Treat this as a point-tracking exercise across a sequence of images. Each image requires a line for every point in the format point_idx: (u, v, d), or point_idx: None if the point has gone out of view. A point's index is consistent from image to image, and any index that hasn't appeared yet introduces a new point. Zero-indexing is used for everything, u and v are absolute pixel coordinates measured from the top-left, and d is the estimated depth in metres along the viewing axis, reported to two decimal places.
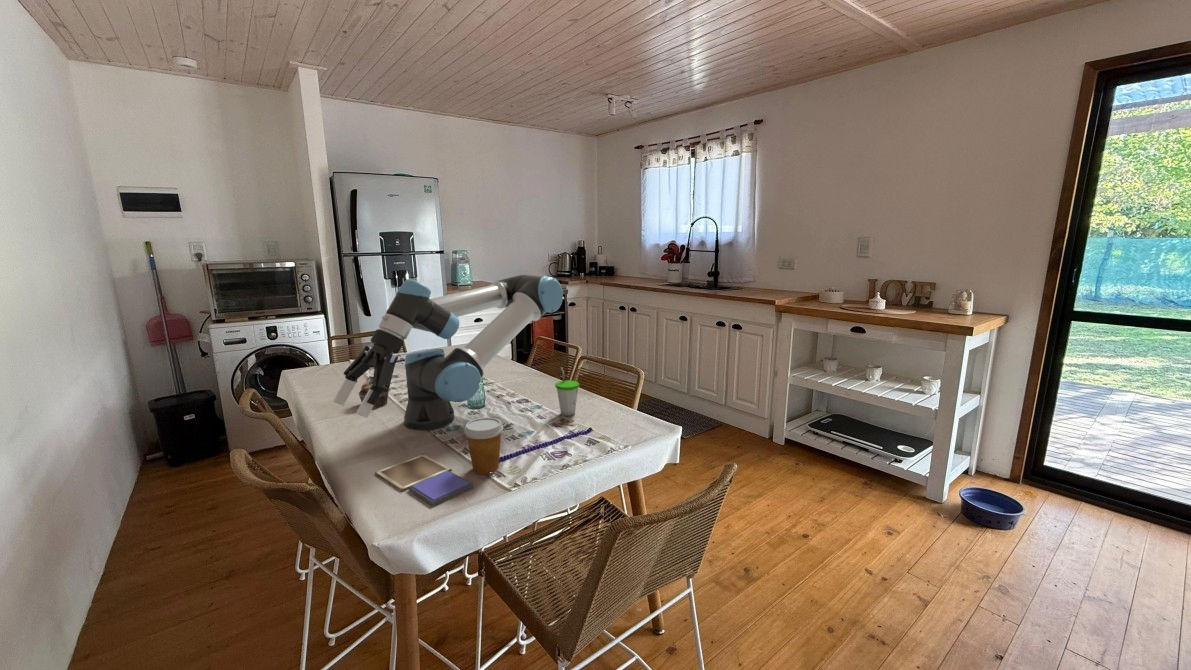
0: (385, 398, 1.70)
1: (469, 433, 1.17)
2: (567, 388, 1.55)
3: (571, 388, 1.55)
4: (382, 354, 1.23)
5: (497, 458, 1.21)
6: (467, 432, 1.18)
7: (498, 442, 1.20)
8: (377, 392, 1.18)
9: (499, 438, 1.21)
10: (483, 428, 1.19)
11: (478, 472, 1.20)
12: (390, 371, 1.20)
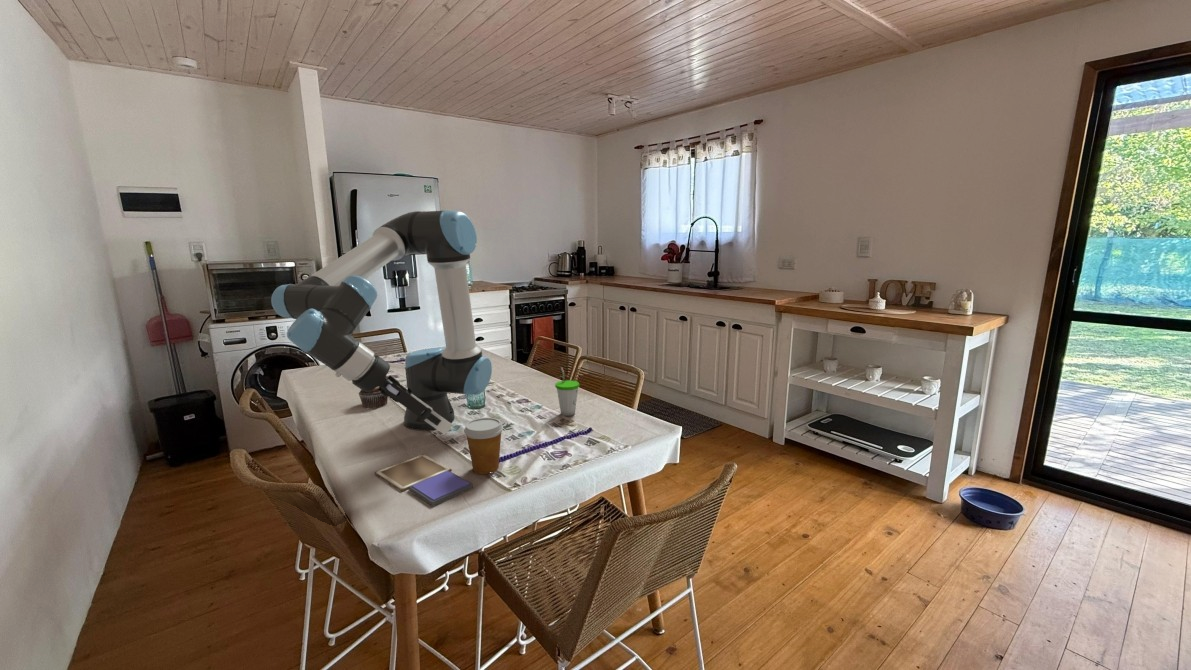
0: (385, 398, 1.70)
1: (469, 433, 1.17)
2: (567, 388, 1.55)
3: (571, 388, 1.55)
4: (385, 391, 1.03)
5: (497, 458, 1.21)
6: (467, 432, 1.18)
7: (498, 442, 1.20)
8: (428, 416, 1.04)
9: (499, 438, 1.21)
10: (483, 428, 1.19)
11: (478, 472, 1.20)
12: (408, 398, 1.01)
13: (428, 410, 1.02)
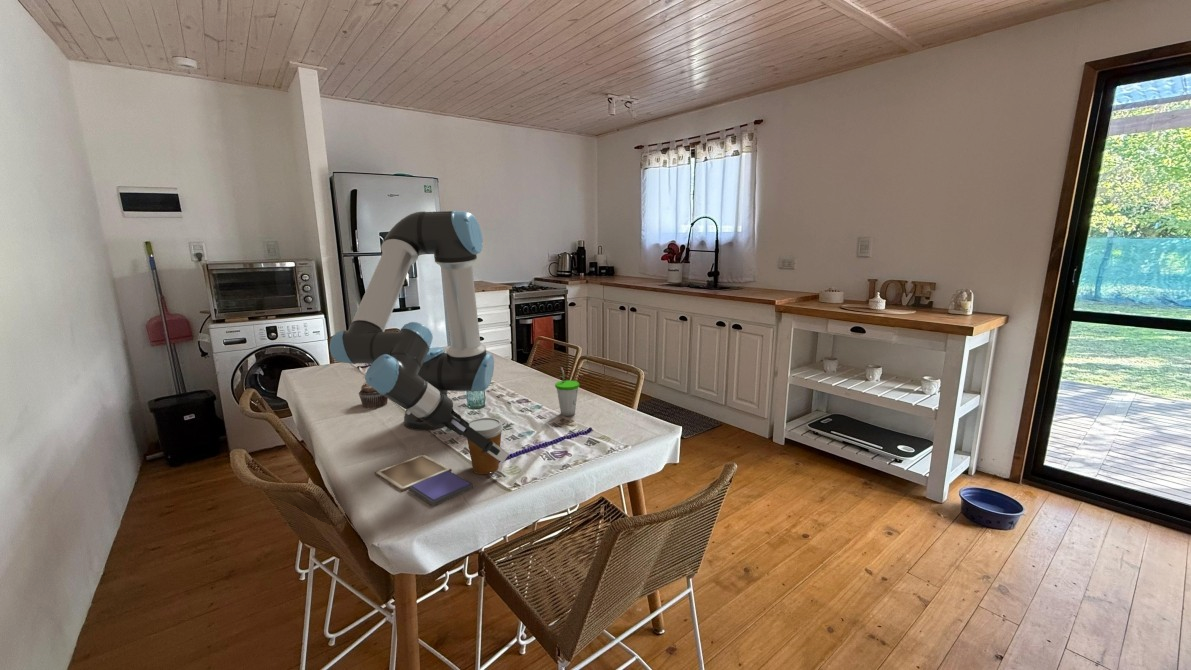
0: (385, 398, 1.70)
1: None
2: (567, 388, 1.55)
3: (571, 388, 1.55)
4: (450, 425, 1.12)
5: None
6: None
7: (498, 442, 1.20)
8: (489, 448, 1.16)
9: (499, 438, 1.21)
10: (483, 428, 1.19)
11: (478, 472, 1.20)
12: (474, 434, 1.12)
13: (490, 443, 1.14)
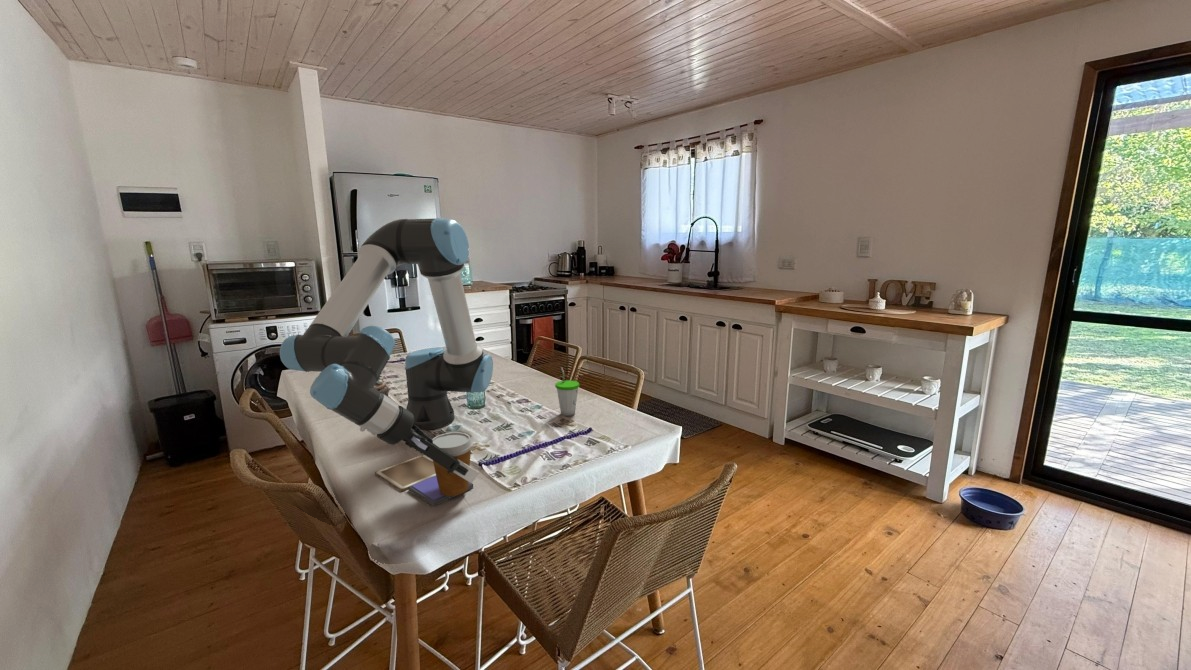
0: None
1: None
2: (567, 388, 1.55)
3: (571, 388, 1.55)
4: (411, 443, 1.00)
5: None
6: None
7: (467, 460, 1.08)
8: (456, 467, 1.03)
9: (468, 456, 1.08)
10: (449, 445, 1.07)
11: (444, 494, 1.08)
12: (437, 453, 1.00)
13: (456, 462, 1.02)
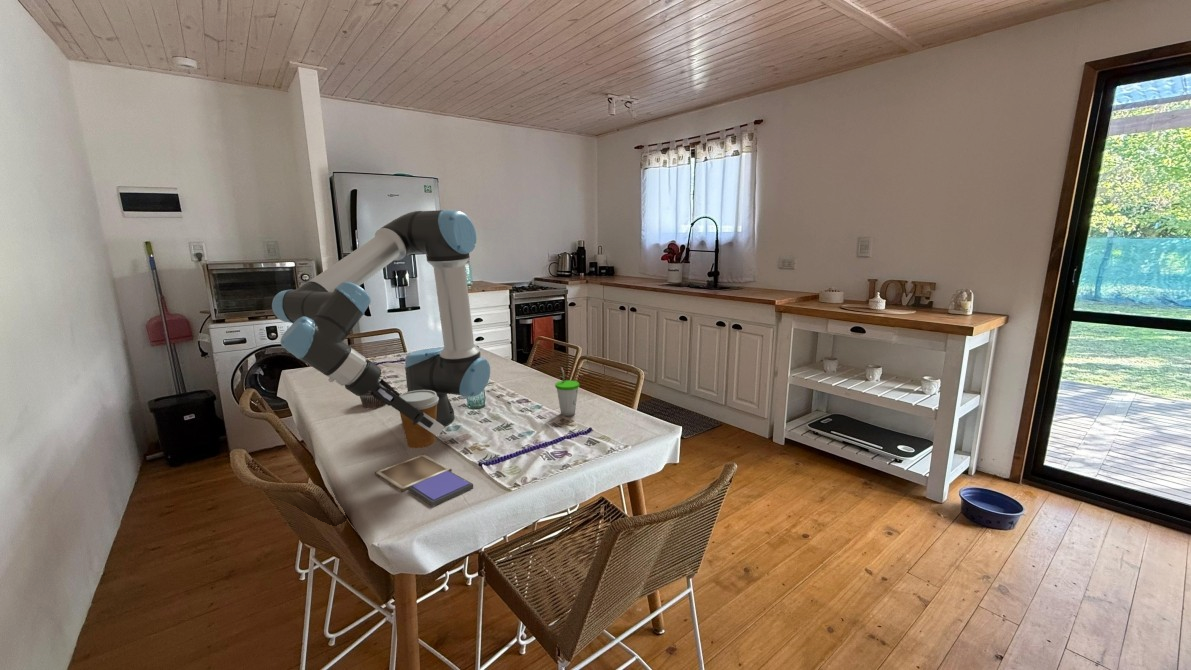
0: None
1: None
2: (567, 388, 1.55)
3: (571, 388, 1.55)
4: (377, 395, 1.06)
5: None
6: None
7: (432, 415, 1.14)
8: (421, 419, 1.10)
9: (434, 410, 1.14)
10: (416, 399, 1.13)
11: (411, 446, 1.14)
12: (402, 404, 1.06)
13: (421, 414, 1.08)
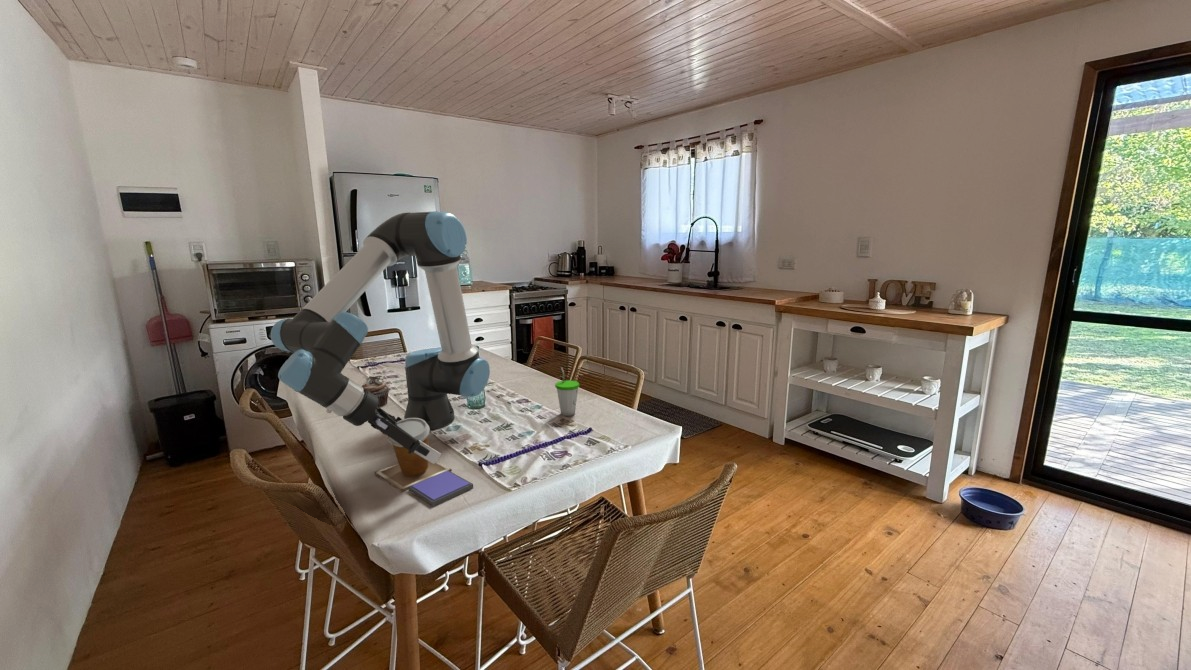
0: (385, 398, 1.70)
1: (391, 440, 1.13)
2: (567, 388, 1.55)
3: (571, 388, 1.55)
4: (375, 424, 1.07)
5: (425, 460, 1.19)
6: (390, 438, 1.14)
7: None
8: (417, 448, 1.08)
9: (425, 442, 1.17)
10: None
11: (405, 474, 1.18)
12: (397, 432, 1.05)
13: (417, 443, 1.06)
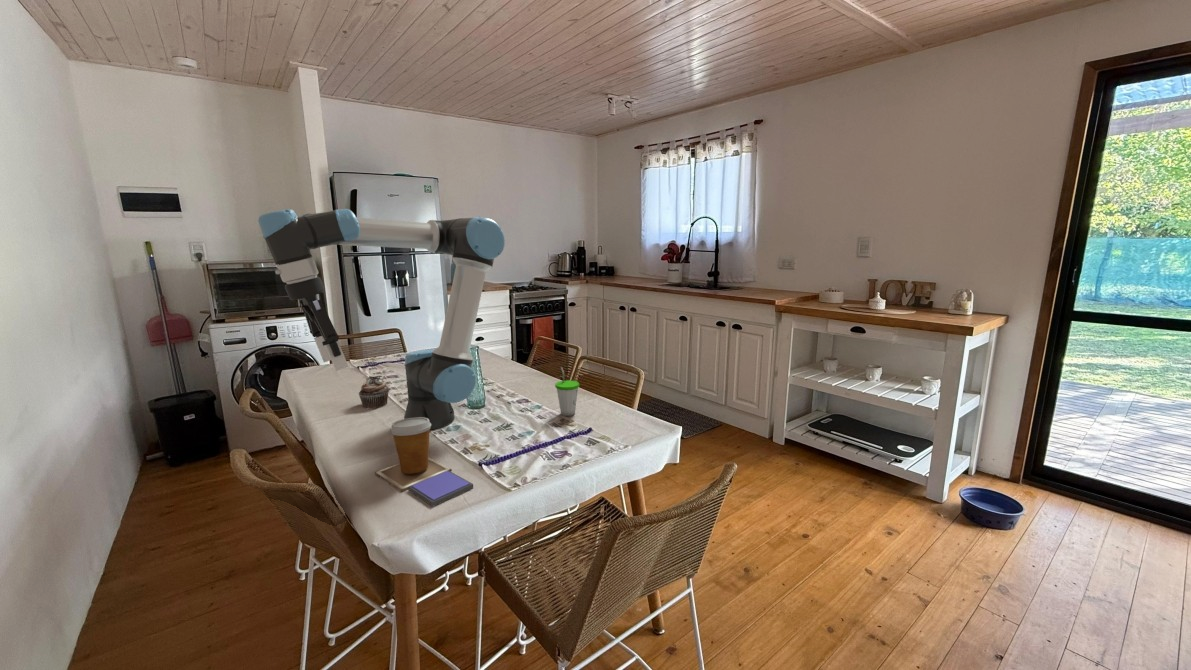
0: (385, 398, 1.70)
1: (393, 430, 1.17)
2: (567, 388, 1.55)
3: (571, 388, 1.55)
4: (308, 306, 1.10)
5: (424, 457, 1.20)
6: (392, 429, 1.18)
7: (424, 440, 1.19)
8: (332, 343, 1.10)
9: (425, 436, 1.19)
10: (408, 425, 1.18)
11: (404, 471, 1.19)
12: (325, 318, 1.09)
13: (336, 336, 1.09)
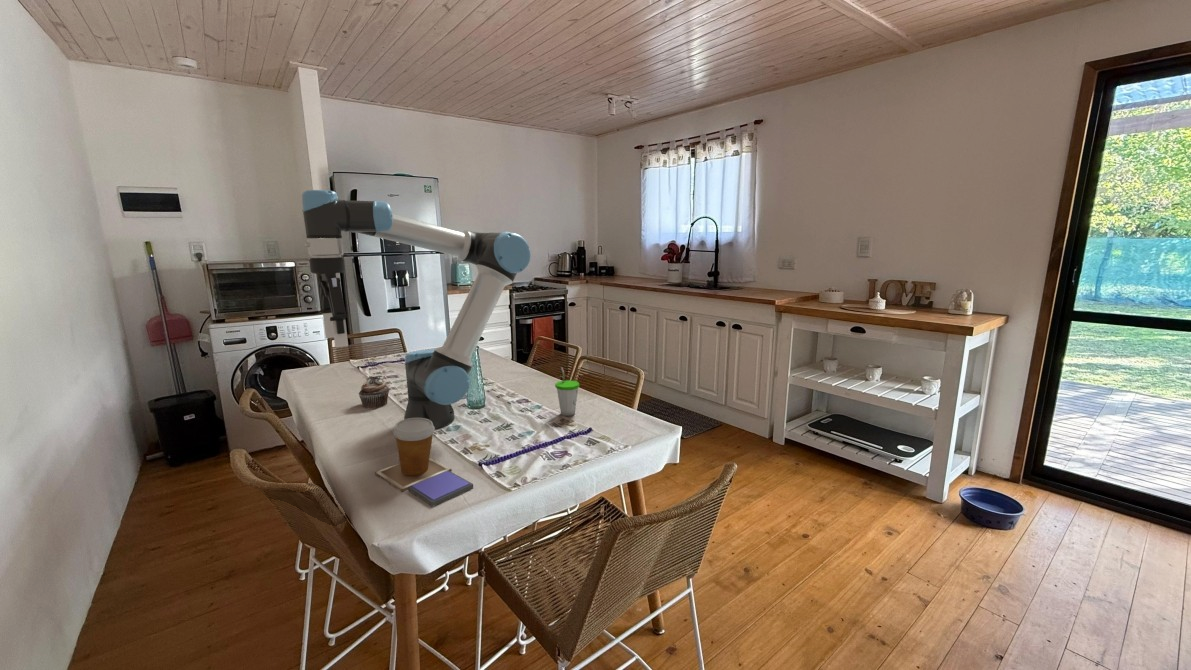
0: (385, 398, 1.70)
1: (395, 432, 1.16)
2: (567, 388, 1.55)
3: (571, 388, 1.55)
4: (326, 281, 1.16)
5: (424, 461, 1.19)
6: (394, 431, 1.16)
7: (425, 446, 1.18)
8: (339, 321, 1.15)
9: (427, 442, 1.18)
10: (411, 429, 1.16)
11: (403, 472, 1.19)
12: (339, 296, 1.14)
13: (344, 314, 1.14)
